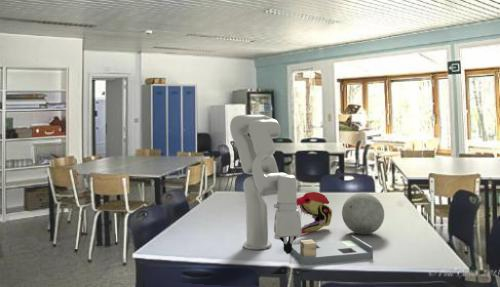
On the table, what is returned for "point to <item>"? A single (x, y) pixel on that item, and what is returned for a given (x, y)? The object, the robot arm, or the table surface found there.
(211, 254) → the table surface
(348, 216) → the decorative sphere
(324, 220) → the toy
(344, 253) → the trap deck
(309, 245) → the beech cube
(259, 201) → the robot arm
